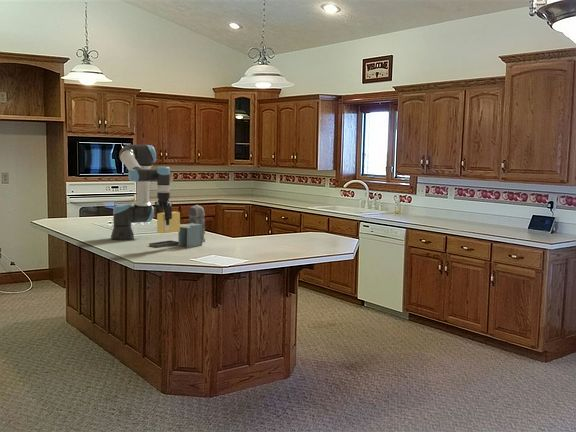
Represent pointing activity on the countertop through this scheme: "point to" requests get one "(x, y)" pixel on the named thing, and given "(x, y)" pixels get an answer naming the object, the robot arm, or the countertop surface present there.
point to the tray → (163, 243)
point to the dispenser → (190, 235)
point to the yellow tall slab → (173, 223)
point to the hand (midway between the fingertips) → (163, 229)
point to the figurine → (197, 217)
